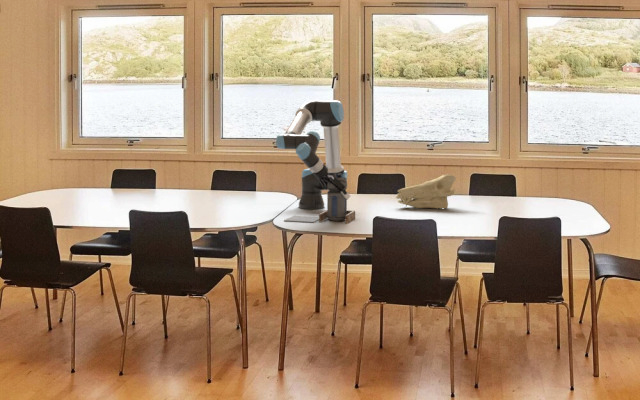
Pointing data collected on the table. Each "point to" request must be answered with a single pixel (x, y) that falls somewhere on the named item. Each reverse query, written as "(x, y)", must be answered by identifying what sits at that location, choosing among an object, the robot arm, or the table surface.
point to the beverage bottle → (336, 201)
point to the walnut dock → (349, 217)
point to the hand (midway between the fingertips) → (342, 196)
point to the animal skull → (428, 193)
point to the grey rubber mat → (302, 219)
